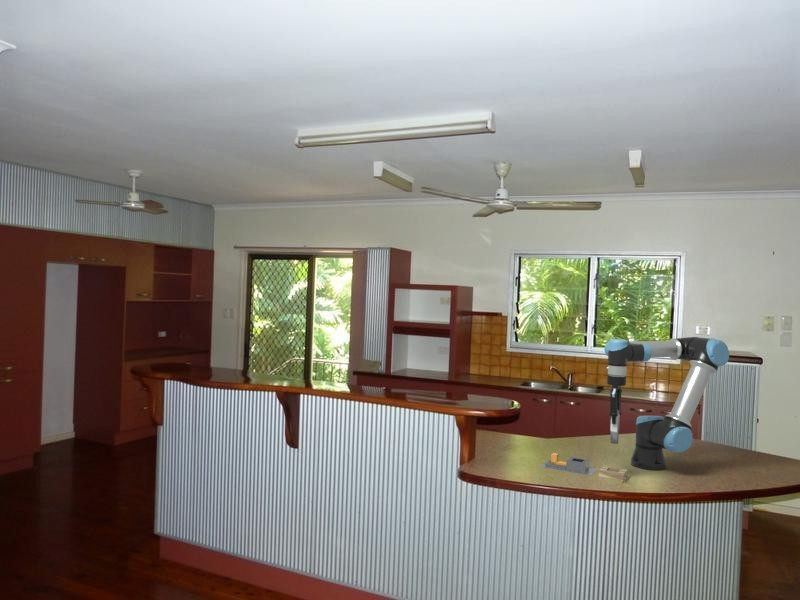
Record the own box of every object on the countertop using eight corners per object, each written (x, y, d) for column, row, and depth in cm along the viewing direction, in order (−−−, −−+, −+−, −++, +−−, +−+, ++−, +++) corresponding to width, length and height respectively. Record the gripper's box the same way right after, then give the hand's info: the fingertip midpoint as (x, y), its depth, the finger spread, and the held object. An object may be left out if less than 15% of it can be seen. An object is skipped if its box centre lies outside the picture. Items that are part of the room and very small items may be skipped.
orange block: (552, 464, 276) (553, 453, 276) (571, 467, 272) (571, 455, 272) (550, 465, 274) (551, 454, 274) (569, 468, 270) (569, 457, 270)
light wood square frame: (603, 473, 269) (603, 465, 269) (627, 477, 264) (627, 469, 264) (598, 478, 260) (598, 470, 260) (623, 483, 255) (623, 474, 255)
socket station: (547, 463, 282) (547, 452, 282) (596, 471, 271) (597, 459, 271) (539, 469, 271) (540, 457, 271) (590, 478, 261) (591, 466, 261)
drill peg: (611, 441, 264) (612, 409, 264) (618, 442, 262) (620, 410, 262) (609, 443, 261) (610, 410, 261) (617, 444, 260) (618, 411, 260)
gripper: (611, 372, 270) (609, 426, 271) (603, 376, 256) (601, 432, 257) (629, 374, 267) (627, 428, 267) (622, 378, 253) (620, 435, 253)
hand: (614, 430), depth 262 cm, fingers closed on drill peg, 3 cm apart
